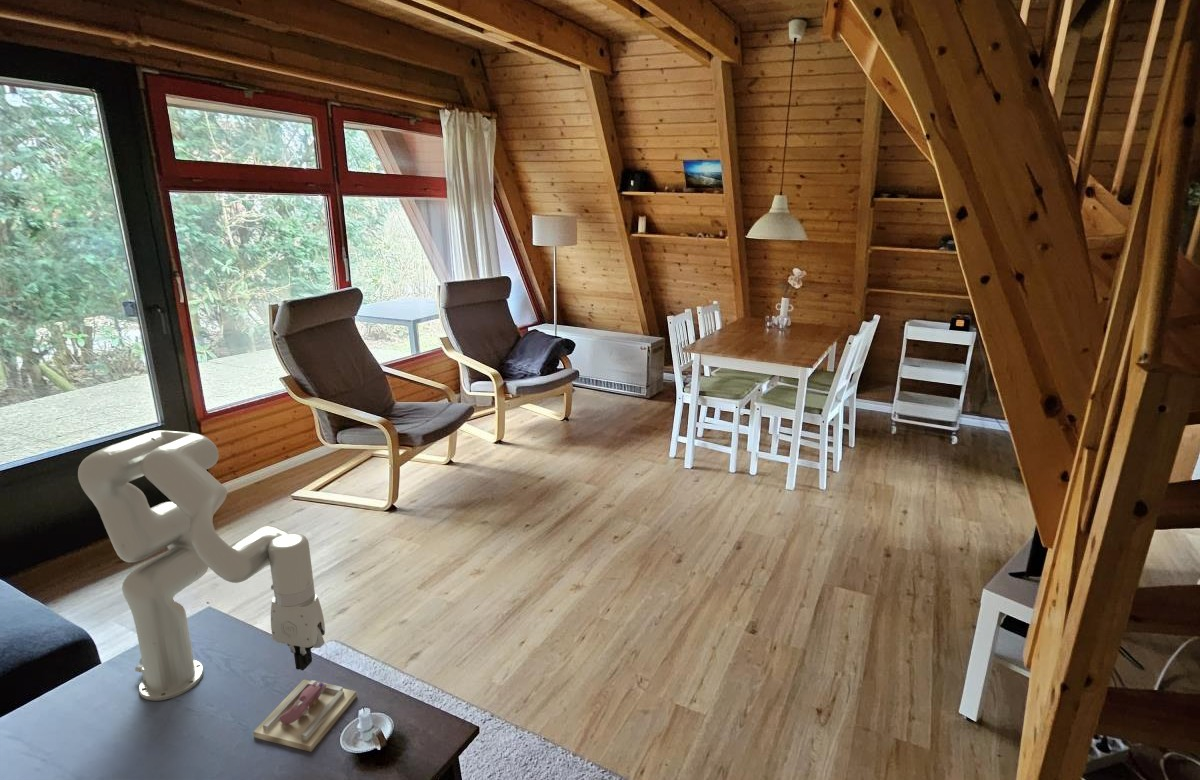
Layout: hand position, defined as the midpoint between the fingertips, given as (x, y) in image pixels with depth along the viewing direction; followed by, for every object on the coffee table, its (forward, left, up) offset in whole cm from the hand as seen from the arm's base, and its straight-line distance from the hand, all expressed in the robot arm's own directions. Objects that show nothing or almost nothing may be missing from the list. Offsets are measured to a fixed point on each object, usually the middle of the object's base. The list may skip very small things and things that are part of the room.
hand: (304, 665), depth 135 cm
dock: (-1, 0, -14) cm, 14 cm away
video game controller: (-1, 0, -12) cm, 12 cm away
